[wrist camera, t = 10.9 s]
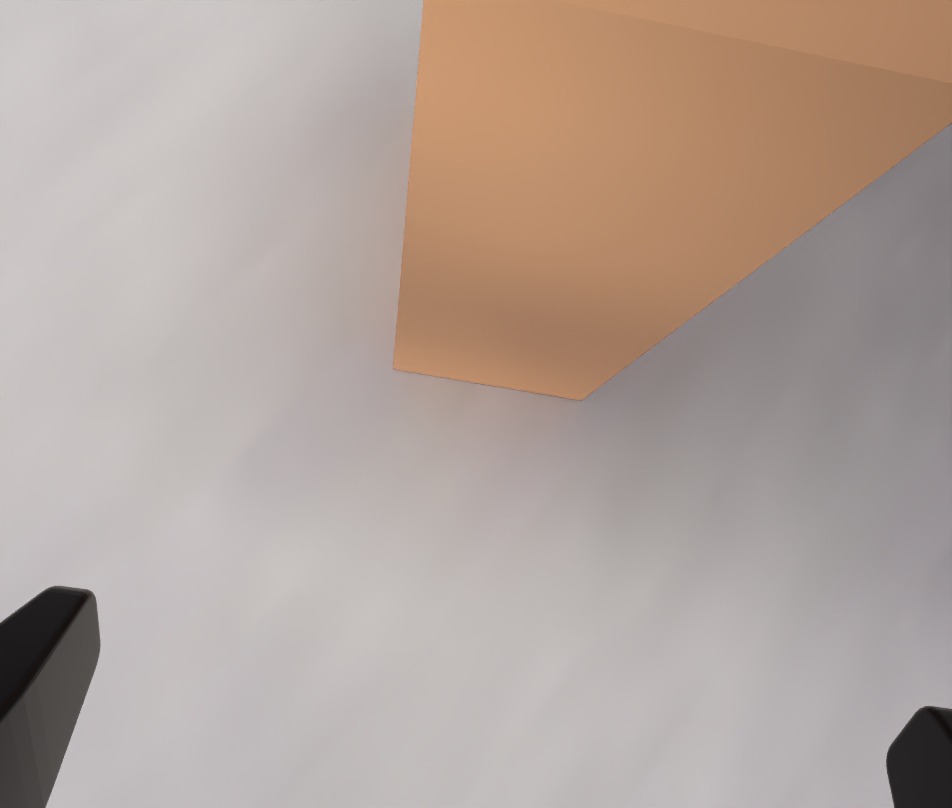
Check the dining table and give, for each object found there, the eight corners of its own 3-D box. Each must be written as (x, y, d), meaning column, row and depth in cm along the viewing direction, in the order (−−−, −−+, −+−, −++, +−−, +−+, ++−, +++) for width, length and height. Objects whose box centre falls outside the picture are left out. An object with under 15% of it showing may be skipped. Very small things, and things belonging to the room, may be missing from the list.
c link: (581, 400, 18) (993, 91, 6) (392, 369, 17) (425, -29, 5) (612, 141, 19) (1010, -556, 7) (437, 106, 18) (544, -687, 7)
